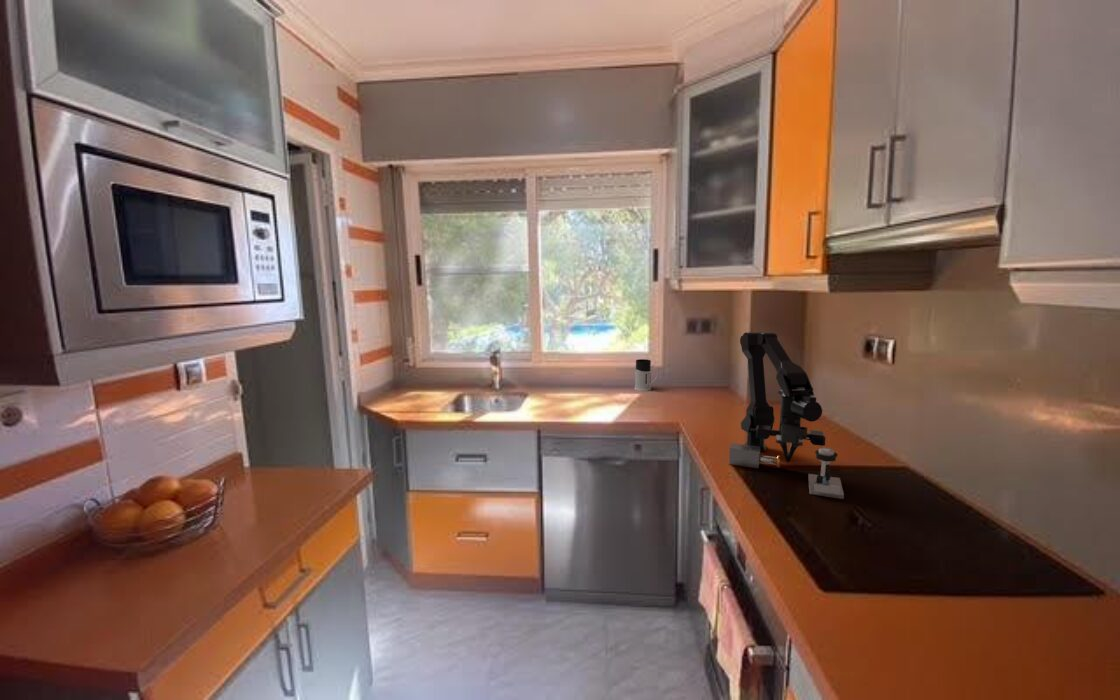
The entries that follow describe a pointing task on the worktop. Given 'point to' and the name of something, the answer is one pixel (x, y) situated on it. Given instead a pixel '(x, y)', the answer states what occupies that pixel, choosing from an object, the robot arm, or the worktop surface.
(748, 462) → the block
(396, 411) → the worktop surface
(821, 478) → the push button
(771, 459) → the press pin
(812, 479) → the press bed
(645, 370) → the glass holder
